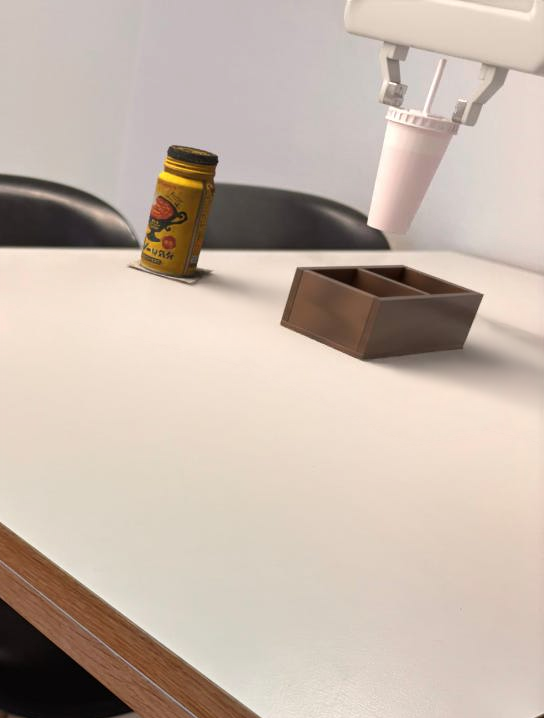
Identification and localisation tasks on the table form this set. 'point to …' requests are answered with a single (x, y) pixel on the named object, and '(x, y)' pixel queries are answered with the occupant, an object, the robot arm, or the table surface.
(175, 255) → the condiment
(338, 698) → the table surface
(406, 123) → the smoothie
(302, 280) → the box
